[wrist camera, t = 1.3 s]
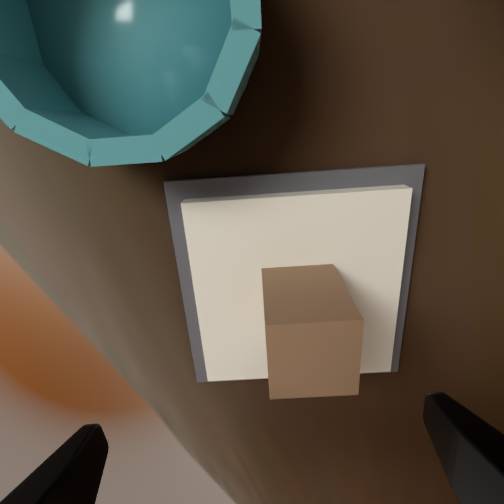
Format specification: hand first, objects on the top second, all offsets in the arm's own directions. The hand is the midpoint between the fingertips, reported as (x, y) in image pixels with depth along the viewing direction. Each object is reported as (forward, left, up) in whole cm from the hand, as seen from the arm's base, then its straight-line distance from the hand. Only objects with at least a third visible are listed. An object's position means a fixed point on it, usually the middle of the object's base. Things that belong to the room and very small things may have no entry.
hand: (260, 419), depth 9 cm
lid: (-2, +2, -11) cm, 11 cm away
